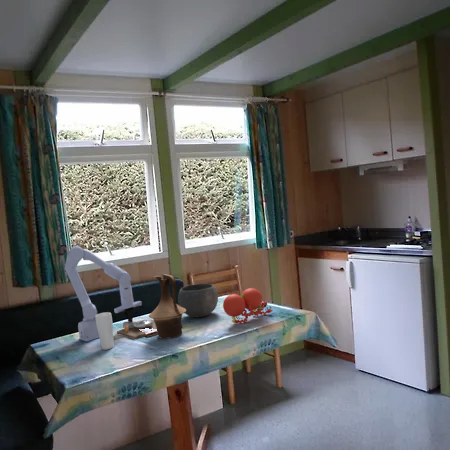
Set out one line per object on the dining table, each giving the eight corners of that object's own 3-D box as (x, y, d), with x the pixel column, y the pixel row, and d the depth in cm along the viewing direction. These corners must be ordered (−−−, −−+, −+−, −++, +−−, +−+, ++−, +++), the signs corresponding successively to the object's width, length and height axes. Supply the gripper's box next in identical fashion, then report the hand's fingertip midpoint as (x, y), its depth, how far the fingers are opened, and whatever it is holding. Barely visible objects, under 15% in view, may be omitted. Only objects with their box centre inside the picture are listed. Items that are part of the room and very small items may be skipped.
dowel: (126, 333, 215) (125, 326, 215) (124, 332, 216) (123, 326, 216) (129, 332, 216) (128, 325, 216) (127, 331, 218) (126, 325, 217)
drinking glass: (107, 351, 196) (102, 317, 194) (96, 350, 199) (91, 316, 198) (119, 345, 201) (114, 312, 200) (108, 344, 205) (103, 311, 204)
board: (135, 339, 208) (134, 334, 208) (116, 333, 220) (116, 329, 220) (171, 326, 221) (170, 322, 221) (152, 321, 234) (151, 317, 234)
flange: (156, 323, 224) (155, 318, 223) (148, 329, 215) (147, 324, 215) (129, 324, 228) (128, 319, 228) (119, 330, 220) (119, 324, 219)
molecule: (241, 329, 203) (229, 296, 204) (226, 331, 211) (215, 299, 213) (278, 311, 219) (268, 280, 220) (264, 313, 227) (253, 284, 229)
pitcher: (197, 331, 208) (189, 270, 206) (168, 343, 196) (160, 279, 194) (172, 327, 220) (164, 269, 218) (143, 338, 208) (135, 277, 206)
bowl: (205, 322, 221) (201, 292, 220) (172, 320, 232) (168, 291, 231) (227, 310, 238) (223, 282, 237) (195, 309, 249) (191, 282, 248)
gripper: (134, 291, 232) (138, 318, 233) (109, 299, 222) (113, 326, 223) (142, 292, 227) (146, 319, 228) (117, 300, 217) (121, 328, 218)
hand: (130, 323), depth 225 cm, fingers closed, pressing on flange
